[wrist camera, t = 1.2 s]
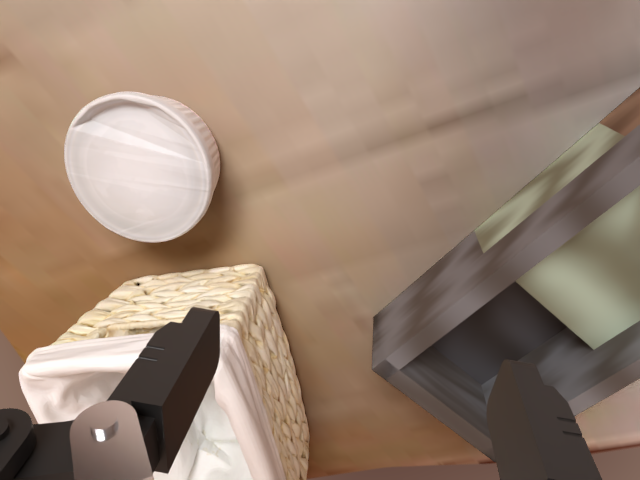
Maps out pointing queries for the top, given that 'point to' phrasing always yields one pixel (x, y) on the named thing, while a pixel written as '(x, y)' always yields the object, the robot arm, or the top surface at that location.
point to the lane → (531, 290)
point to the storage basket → (227, 384)
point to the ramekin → (142, 165)
